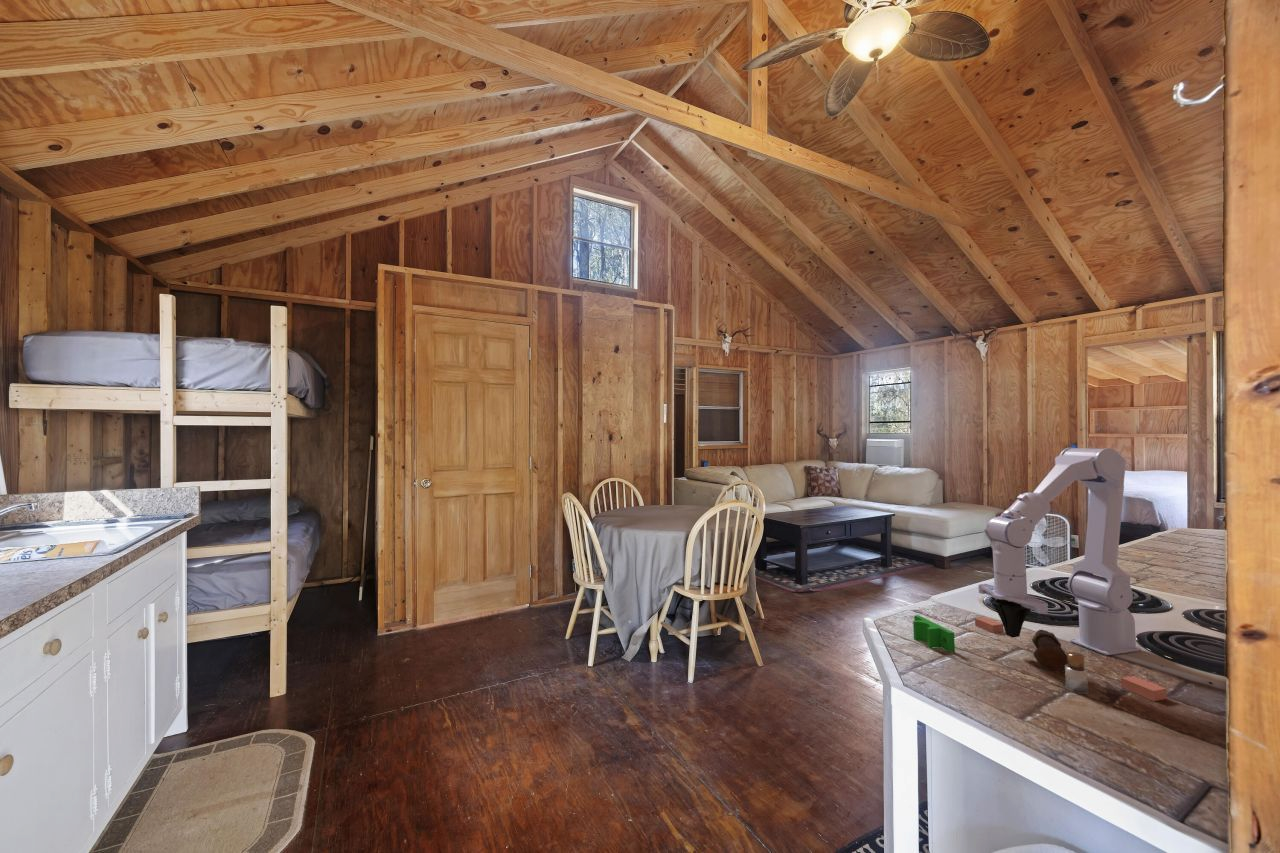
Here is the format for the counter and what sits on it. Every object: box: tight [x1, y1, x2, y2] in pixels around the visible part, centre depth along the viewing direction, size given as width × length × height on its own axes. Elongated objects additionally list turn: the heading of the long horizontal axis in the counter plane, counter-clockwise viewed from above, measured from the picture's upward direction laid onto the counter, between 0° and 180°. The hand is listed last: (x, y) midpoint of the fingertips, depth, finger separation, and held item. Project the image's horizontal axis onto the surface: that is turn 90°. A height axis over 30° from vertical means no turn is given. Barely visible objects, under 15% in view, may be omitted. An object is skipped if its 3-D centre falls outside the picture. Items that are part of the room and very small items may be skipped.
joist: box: [974, 616, 1004, 634], centre depth 123 cm, size 3×5×2 cm, turn 12°
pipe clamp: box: [912, 614, 956, 653], centre depth 116 cm, size 11×4×5 cm, turn 9°
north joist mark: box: [1120, 675, 1168, 702], centre depth 92 cm, size 3×5×2 cm, turn 12°
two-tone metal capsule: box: [1064, 651, 1089, 695], centre depth 94 cm, size 3×3×6 cm
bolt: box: [1031, 629, 1067, 674], centre depth 107 cm, size 6×5×15 cm
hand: (1012, 635), depth 109 cm, fingers closed
